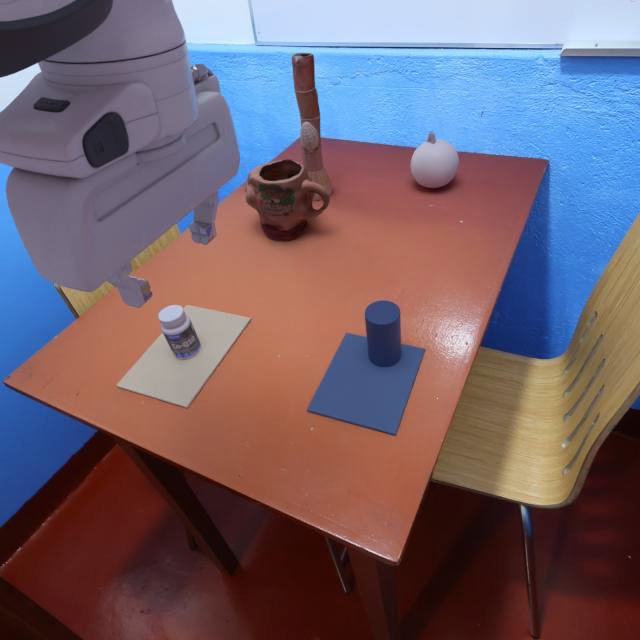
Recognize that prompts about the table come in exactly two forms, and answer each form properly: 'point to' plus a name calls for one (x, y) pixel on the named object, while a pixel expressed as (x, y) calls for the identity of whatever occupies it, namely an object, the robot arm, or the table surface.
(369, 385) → the blue mat
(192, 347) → the pill bottle
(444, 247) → the table surface
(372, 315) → the blue canister
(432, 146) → the ornament
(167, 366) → the cream mat
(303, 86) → the vase
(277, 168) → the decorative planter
